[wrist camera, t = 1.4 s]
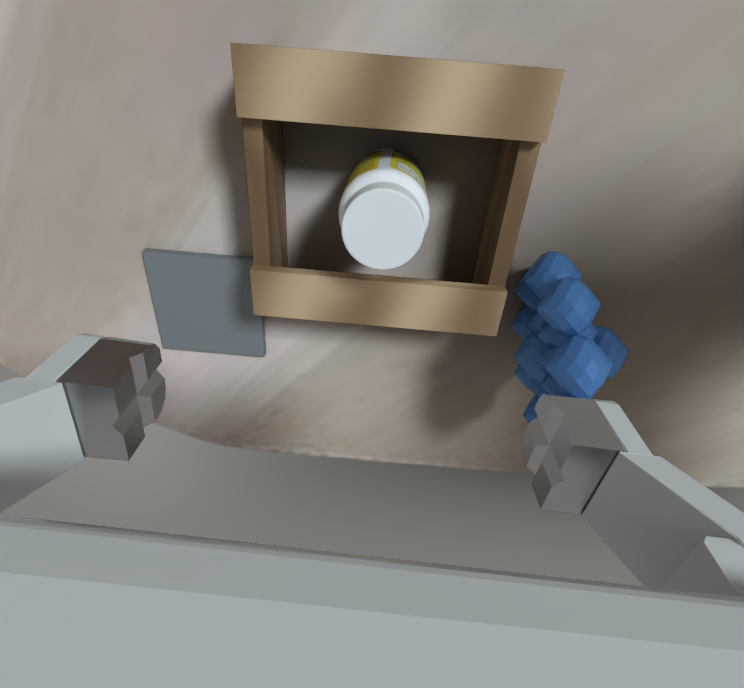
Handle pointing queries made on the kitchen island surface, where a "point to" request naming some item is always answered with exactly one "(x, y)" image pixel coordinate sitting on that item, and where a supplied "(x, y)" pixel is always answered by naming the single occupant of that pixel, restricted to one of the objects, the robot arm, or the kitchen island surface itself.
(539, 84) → the crate
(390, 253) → the supplement bottle
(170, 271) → the slate pad
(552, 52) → the kitchen island surface
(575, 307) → the grapes
